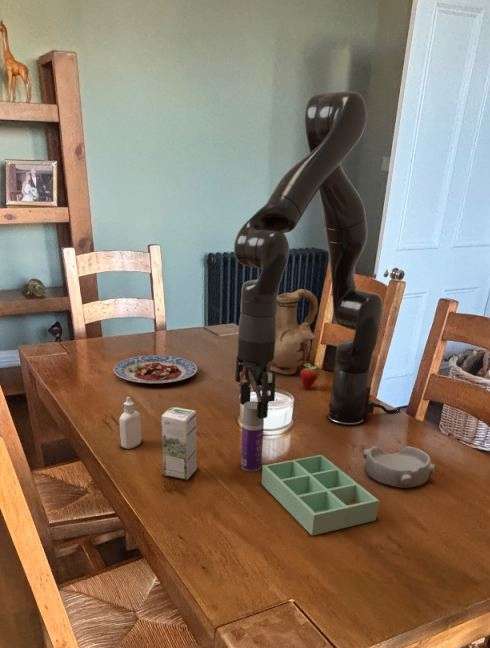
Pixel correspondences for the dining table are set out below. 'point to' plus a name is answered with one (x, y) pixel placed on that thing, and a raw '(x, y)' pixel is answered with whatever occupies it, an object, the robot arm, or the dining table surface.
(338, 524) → the rack
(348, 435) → the dining table surface
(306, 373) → the fruit
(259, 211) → the robot arm
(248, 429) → the container
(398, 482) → the dish
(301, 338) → the ceramic vessel
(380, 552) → the dining table surface
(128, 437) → the eye dropper bottle
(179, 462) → the syrup box
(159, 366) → the ceramic plate
